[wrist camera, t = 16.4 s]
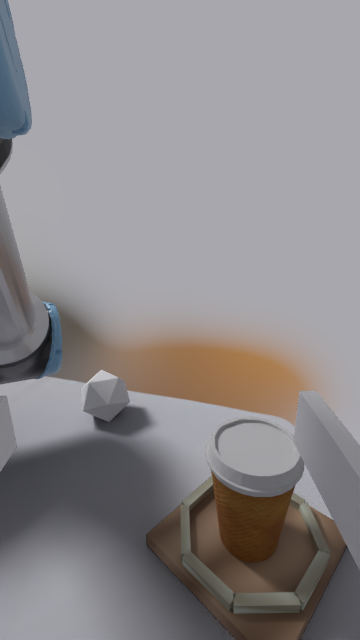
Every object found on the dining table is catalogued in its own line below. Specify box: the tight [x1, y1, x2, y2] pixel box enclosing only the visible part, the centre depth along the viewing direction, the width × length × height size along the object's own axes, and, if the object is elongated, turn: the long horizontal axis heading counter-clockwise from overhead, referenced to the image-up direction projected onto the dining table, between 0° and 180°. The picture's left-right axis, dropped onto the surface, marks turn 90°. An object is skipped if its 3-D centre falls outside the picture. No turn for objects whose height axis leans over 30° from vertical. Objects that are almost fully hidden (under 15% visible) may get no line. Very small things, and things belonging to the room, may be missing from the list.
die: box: [81, 370, 130, 422], centre depth 59 cm, size 8×9×10 cm
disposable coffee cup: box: [205, 417, 304, 563], centre depth 33 cm, size 10×10×12 cm
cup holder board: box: [146, 476, 347, 640], centre depth 35 cm, size 16×16×2 cm
